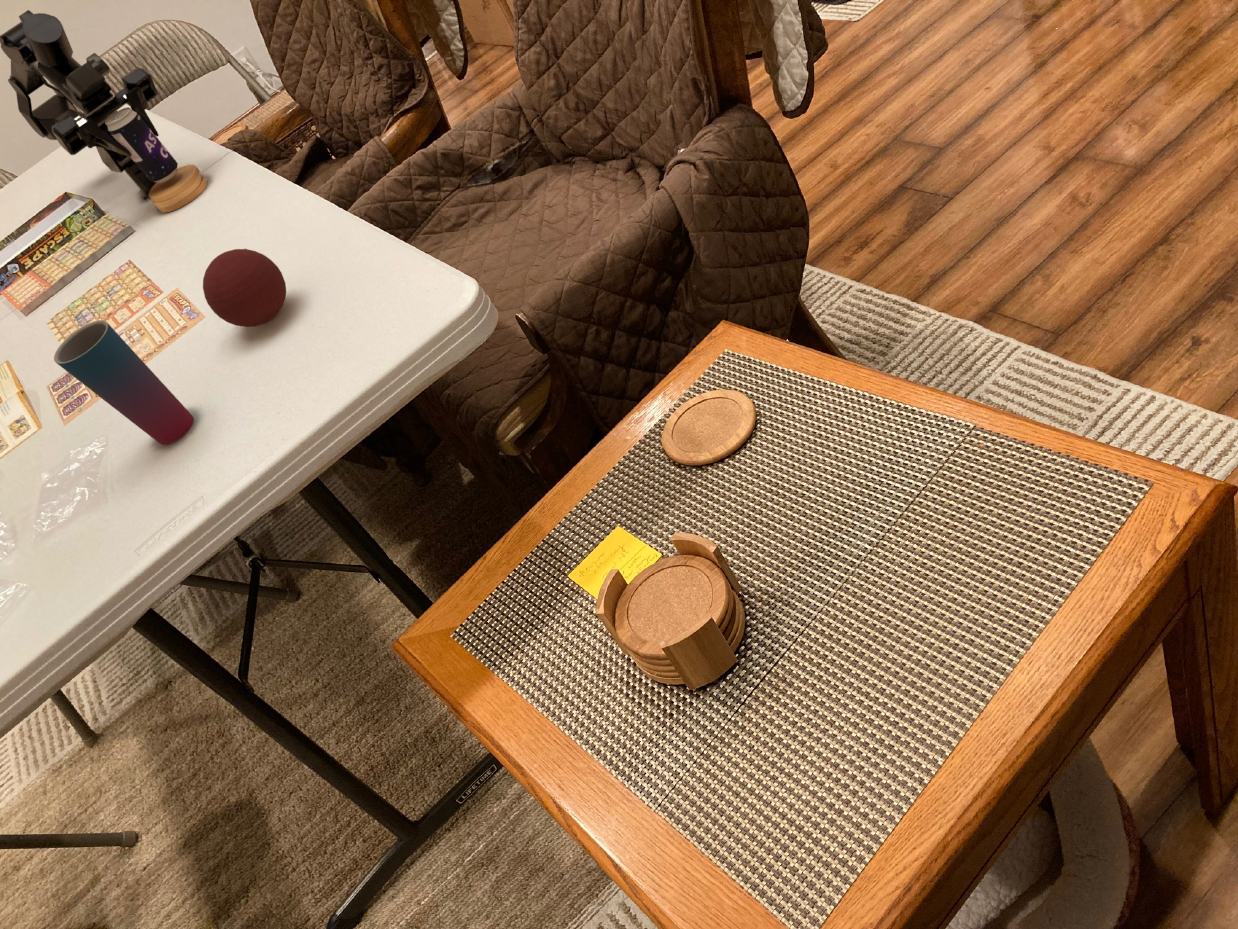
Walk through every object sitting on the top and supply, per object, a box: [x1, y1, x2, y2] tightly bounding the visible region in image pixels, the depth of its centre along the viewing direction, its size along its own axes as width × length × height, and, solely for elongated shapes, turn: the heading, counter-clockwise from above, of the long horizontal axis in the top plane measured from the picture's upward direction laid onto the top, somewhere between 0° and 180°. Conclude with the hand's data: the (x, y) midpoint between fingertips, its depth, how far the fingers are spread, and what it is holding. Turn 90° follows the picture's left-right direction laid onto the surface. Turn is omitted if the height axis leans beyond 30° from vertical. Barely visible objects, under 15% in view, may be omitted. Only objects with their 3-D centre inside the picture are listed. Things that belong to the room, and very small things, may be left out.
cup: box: [53, 319, 195, 446], centre depth 101 cm, size 7×7×15 cm
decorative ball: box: [202, 248, 287, 328], centre depth 113 cm, size 10×10×10 cm
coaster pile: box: [149, 164, 208, 214], centre depth 157 cm, size 10×10×3 cm
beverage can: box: [105, 106, 179, 183], centre depth 151 cm, size 6×6×12 cm
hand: (143, 144), depth 150 cm, fingers closed on beverage can, 5 cm apart
